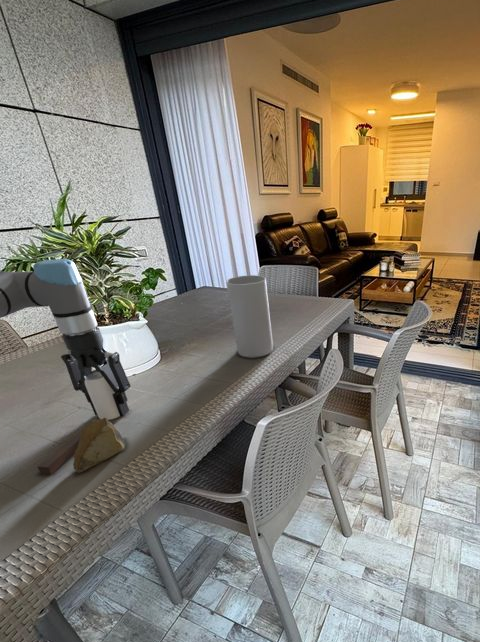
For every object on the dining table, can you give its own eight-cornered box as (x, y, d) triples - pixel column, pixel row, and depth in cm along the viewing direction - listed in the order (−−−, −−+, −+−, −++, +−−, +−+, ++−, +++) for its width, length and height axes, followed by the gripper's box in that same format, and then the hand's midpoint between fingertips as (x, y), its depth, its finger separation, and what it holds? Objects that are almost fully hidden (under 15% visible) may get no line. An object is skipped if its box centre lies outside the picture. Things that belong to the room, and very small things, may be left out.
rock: (66, 476, 69) (120, 454, 72) (50, 436, 69) (104, 416, 73) (86, 472, 79) (132, 452, 83) (72, 437, 80) (118, 419, 83)
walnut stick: (51, 474, 73) (47, 467, 72) (40, 473, 73) (36, 466, 73) (102, 427, 87) (99, 421, 86) (92, 427, 87) (90, 420, 86)
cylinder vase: (230, 355, 122) (217, 282, 110) (251, 342, 132) (242, 274, 120) (260, 361, 117) (250, 286, 105) (279, 346, 127) (273, 276, 115)
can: (110, 406, 96) (95, 367, 90) (131, 408, 95) (117, 368, 89) (93, 419, 90) (75, 379, 84) (114, 422, 89) (98, 381, 83)
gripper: (128, 324, 83) (154, 406, 94) (55, 324, 86) (88, 403, 97) (108, 336, 77) (138, 422, 88) (29, 335, 79) (68, 419, 90)
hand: (112, 412), depth 92 cm, fingers closed on can, 6 cm apart
